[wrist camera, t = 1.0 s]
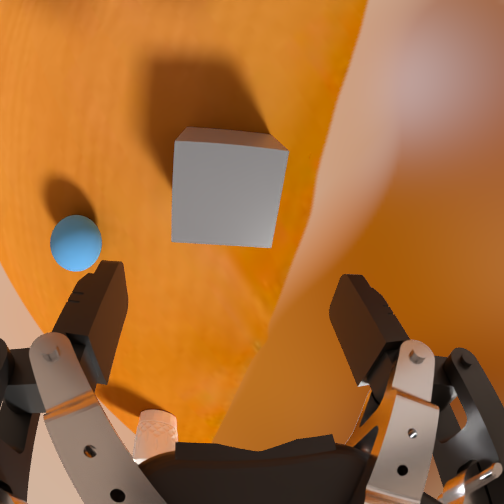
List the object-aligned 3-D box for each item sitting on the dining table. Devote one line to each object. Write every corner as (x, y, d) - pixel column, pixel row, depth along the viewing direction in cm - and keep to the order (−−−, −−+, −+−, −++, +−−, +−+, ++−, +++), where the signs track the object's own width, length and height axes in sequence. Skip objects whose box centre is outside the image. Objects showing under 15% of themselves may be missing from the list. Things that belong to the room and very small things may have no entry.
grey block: (186, 126, 21) (174, 140, 15) (270, 134, 22) (289, 151, 17) (182, 203, 24) (171, 242, 19) (258, 209, 26) (271, 248, 20)
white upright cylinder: (130, 416, 44) (125, 463, 35) (148, 402, 41) (143, 455, 33) (167, 428, 47) (165, 473, 39) (188, 416, 44) (187, 466, 36)
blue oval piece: (73, 196, 23) (48, 220, 18) (116, 222, 25) (98, 251, 20) (58, 236, 24) (36, 264, 20) (98, 260, 26) (81, 291, 22)
